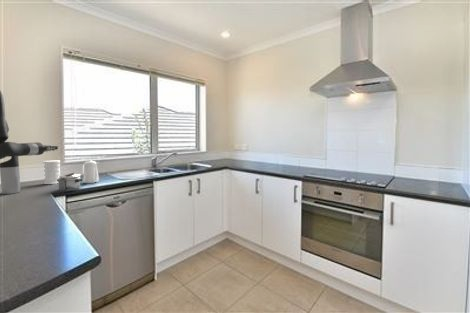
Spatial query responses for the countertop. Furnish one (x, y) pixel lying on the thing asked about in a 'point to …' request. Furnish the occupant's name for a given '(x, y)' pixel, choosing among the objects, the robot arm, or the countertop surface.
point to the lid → (69, 176)
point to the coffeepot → (90, 172)
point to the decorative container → (52, 171)
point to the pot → (69, 184)
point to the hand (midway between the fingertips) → (56, 147)
